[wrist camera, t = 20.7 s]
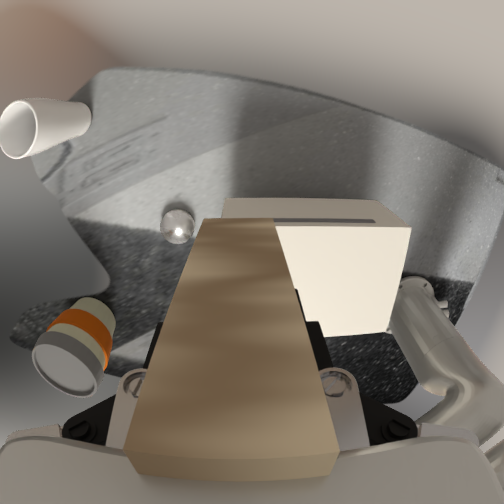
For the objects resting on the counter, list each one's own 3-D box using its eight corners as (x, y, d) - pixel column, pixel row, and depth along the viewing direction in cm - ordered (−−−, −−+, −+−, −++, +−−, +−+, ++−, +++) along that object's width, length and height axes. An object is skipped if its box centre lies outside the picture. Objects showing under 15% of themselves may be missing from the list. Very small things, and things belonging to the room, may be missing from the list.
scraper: (272, 217, 14) (340, 451, 3) (263, 448, 21) (271, 574, 10) (203, 218, 14) (122, 449, 3) (224, 448, 20) (221, 575, 10)
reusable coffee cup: (116, 289, 50) (83, 347, 36) (130, 344, 55) (108, 403, 42) (58, 287, 49) (19, 337, 36) (77, 339, 55) (48, 391, 41)
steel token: (195, 209, 44) (194, 212, 43) (194, 240, 47) (193, 245, 45) (162, 207, 44) (159, 210, 43) (162, 238, 46) (160, 242, 45)
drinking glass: (61, 144, 39) (-1, 164, 25) (59, 102, 36) (-5, 107, 22) (98, 137, 39) (41, 154, 25) (96, 93, 36) (36, 92, 22)
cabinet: (363, 189, 43) (411, 226, 30) (352, 273, 50) (385, 331, 36) (226, 187, 43) (219, 225, 29) (229, 276, 49) (225, 340, 35)
